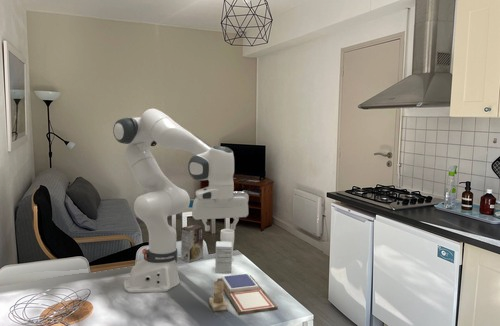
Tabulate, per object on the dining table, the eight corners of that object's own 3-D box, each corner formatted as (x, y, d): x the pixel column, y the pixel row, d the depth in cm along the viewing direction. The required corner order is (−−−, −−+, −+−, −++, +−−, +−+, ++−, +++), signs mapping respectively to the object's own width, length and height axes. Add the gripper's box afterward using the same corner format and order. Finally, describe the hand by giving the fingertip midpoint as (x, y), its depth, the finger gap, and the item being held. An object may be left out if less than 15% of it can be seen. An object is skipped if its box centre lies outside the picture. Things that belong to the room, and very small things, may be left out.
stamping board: (238, 315, 136) (238, 312, 136) (217, 280, 164) (217, 278, 164) (277, 309, 141) (277, 306, 141) (250, 277, 169) (250, 275, 169)
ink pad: (230, 292, 151) (230, 288, 151) (221, 279, 164) (221, 275, 163) (258, 288, 155) (258, 285, 155) (248, 276, 168) (248, 272, 167)
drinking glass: (231, 263, 185) (232, 233, 183) (218, 261, 186) (218, 231, 184) (235, 258, 191) (235, 229, 190) (221, 257, 193) (222, 228, 191)
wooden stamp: (213, 312, 137) (214, 287, 136) (209, 303, 144) (209, 279, 143) (227, 311, 139) (228, 286, 138) (222, 302, 145) (222, 278, 144)
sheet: (241, 311, 137) (241, 310, 137) (230, 293, 150) (230, 293, 150) (274, 306, 141) (274, 306, 141) (260, 290, 154) (260, 289, 154)
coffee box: (194, 254, 194) (195, 223, 193) (203, 258, 190) (204, 226, 189) (180, 259, 187) (181, 227, 186) (189, 263, 183) (189, 230, 182)
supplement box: (215, 267, 179) (216, 241, 178) (231, 267, 180) (232, 241, 178) (214, 273, 172) (215, 246, 170) (231, 273, 172) (232, 246, 171)
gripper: (246, 189, 143) (244, 225, 144) (191, 191, 136) (190, 229, 138) (251, 192, 137) (250, 230, 138) (194, 194, 130) (194, 234, 132)
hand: (220, 230), depth 138 cm, fingers open, 8 cm apart
